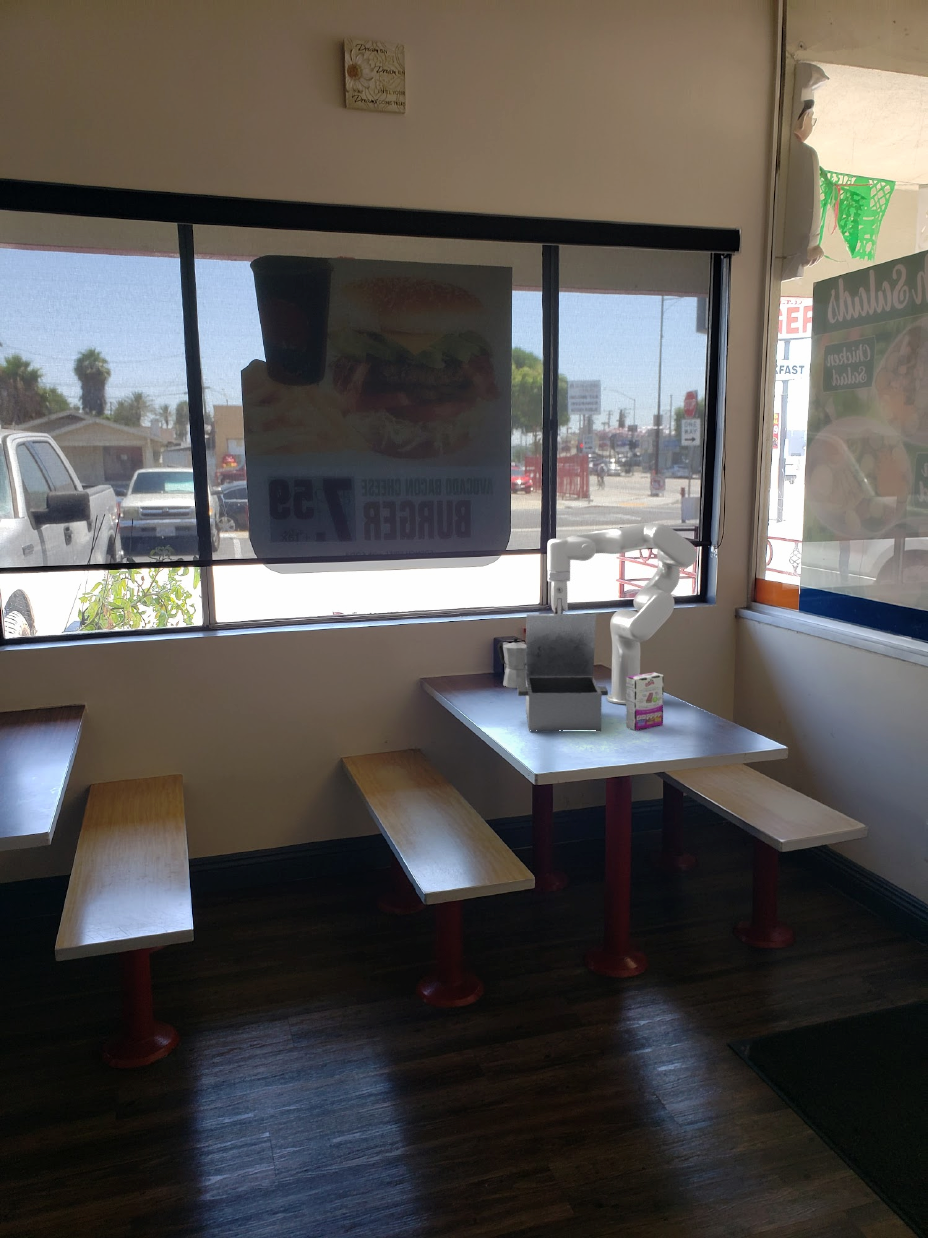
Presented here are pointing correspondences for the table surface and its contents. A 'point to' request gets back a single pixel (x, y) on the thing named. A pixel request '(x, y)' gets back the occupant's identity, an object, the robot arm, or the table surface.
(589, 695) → the grey metal box
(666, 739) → the table surface
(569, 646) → the cooker lid
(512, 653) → the coffeepot
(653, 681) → the candy bar box
